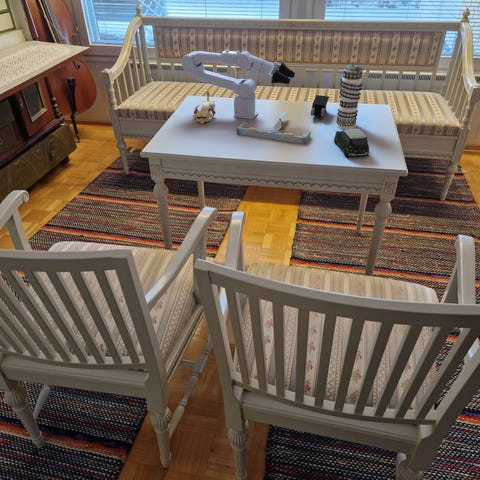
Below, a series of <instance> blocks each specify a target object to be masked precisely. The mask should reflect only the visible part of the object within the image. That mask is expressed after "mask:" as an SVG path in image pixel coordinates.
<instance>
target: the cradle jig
mask: <svg viewBox="0 0 480 480" xmlns="http://www.w3.org/2000/svg"><path fill="white" fill-rule="evenodd" d="M236 134H237V135H244V136H248V137H249V136H251V137H257V138H263V139H270V140H276V141H282V142H290V143H295V144H303V145H304V144H305V145H306V143H307V142H308V141H309V139H310V138H311V130H307V131H306V132H305V133H304V134H303V135H296V134H294V133H293V132H285V133H283V132H277V131H269V130H264V129H263V130H262V129H257V127H251V126H249V128H248V122H246V121H243V122H242V123H241V124H240V125H238V126H237V127H236Z"/></svg>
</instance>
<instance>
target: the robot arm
mask: <svg viewBox="0 0 480 480" xmlns="http://www.w3.org/2000/svg"><path fill="white" fill-rule="evenodd" d="M203 62H218V63H221V64H222V65H223V66H234V67H237V66H238V67H239V68H240V69H248V70H251V71H253V72H255V73H258V74H261V75H262V76H265V77H266V80H269V81H271V82H270V83H271V84H286V85H289V84H290V83H291V79H294V78H295V75H296V72H294V71H293V70H292V69H290V68H289V67H288V66H287V65H286V64H285V62H281V63H278V62H277V61H274V63H273V62H271V61H268V60H265V59H263V58H260V57H259V56H255V55H252V54H251V52H250V51H248V50H242V51H240V50H236V51H235V50H234V51H231V50H230V49H225V50H224V51H222V52H221V53H219V52H212V51H211V52H210V51H202V50H197V51H196V50H192V51H191V52H190V53H189V52H188V54H185V55H183V56H182V57H181V60H180V64H181V66H182V69H183V70H184V71H185V72H186V73H189V74H190V75H191V76H192V77H193V78H194V79H195V80H197V81H199V82H202V83H205V84H208V85H213V86H216V87H220V88H223V89H226V90H230V91H233V94H235V97H234V100H233V108H234V109H233V114H234V115H233V118H240V119H248V120H253V119H254V118H255V117H256V116H258V115H259V112H256V93H255V92H256V90H257V88H258V84H257V82H256V81H255V80H254V79H253V78H246V79H245V78H234V77H231V76H228V75H223V74H221V73H218V72H213V71H210V70H206V69H205V67H204V63H203Z"/></svg>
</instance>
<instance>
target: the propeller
mask: <svg viewBox="0 0 480 480" xmlns="http://www.w3.org/2000/svg"><path fill="white" fill-rule="evenodd" d="M287 114H288V110H285V111H283V112H281V113H280V114H279V116H278V120H277V122H276V123H275V125H274V126H273V127H272V131H271V132H277V131H279V130H281V129H282V130H283V129H284V121H283V118H284V117H285V116H286V115H287Z"/></svg>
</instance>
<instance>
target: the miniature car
mask: <svg viewBox="0 0 480 480" xmlns="http://www.w3.org/2000/svg"><path fill="white" fill-rule="evenodd" d="M333 143H334V145H338V146H339V147H340V148H341V149H342V151H343V155H344V157H345V158H349V157H350V156H353V157H354V156H369V155H370V153H371V152H370V146H369V141H368V136H367V135H366V134H365V133H364V132H363V131H362V130H361V129H359V128H356V127H355V128H352V129H343V130H342V131H341V130H340V131H339V130H336V131H335V135H334V138H333Z"/></svg>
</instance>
